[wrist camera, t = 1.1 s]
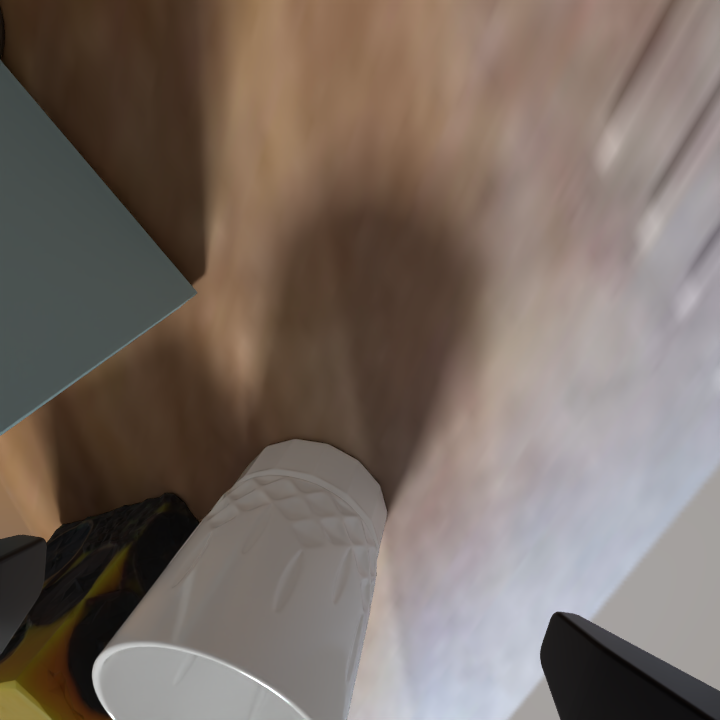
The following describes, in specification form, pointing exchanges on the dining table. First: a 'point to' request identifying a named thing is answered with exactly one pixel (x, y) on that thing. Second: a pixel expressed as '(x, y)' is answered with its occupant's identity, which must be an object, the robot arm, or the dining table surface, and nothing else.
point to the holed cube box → (86, 606)
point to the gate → (66, 263)
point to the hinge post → (1, 33)
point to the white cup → (257, 600)
